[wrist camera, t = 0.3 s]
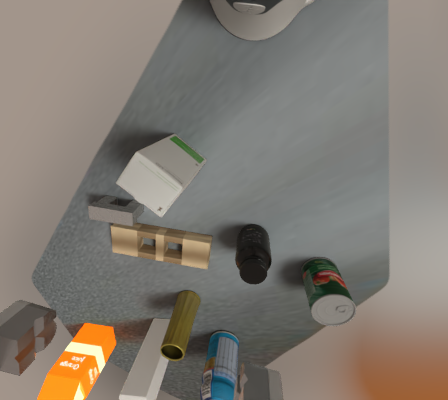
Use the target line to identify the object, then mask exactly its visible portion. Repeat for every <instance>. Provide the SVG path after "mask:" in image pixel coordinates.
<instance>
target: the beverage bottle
mask: <svg viewBox="0 0 448 400" xmlns="http://www.w3.org/2000/svg"><path fill="white" fill-rule="evenodd" d="M238 348H239V341H238V339H237V337H236V336H235V335H233V334H232V333H230V332H226V331H219V332H216V333H214V334H213V335H212V336H211V337H210V341H209V348H208V353H207V358H206V364H205V369H204V373H203V376H202V383H203V385H202V387H201V390H200V395H201V400H233V398H234V389H235V384H236V380H237V362H238Z"/></svg>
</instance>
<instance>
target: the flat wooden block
mask: <svg viewBox="0 0 448 400" xmlns="http://www.w3.org/2000/svg"><path fill="white" fill-rule="evenodd" d="M111 235H112V246H113V252H115V253H120V254H126V255H131V256H137V257H142V258H148V259H153V260H159V261H164V262H170V263H175V264H181V265H186V266H192V267H197V268H203V269H207V267H208V264H209V259H210V251H211V243H212V236H210V235H204V234H198V233H193V232H187V231H181V230H175V229H169V228H164V227H158V226H152V225H146V224H140V223H135V224H134V226H128V225H122V224H116V223H114V224H113V225H112V226H111ZM143 237H145V238H150V239H156V246H151V245H145V244H143ZM168 242H173V243H179V244H183V246H182V251H179V250H173V249H168Z"/></svg>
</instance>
